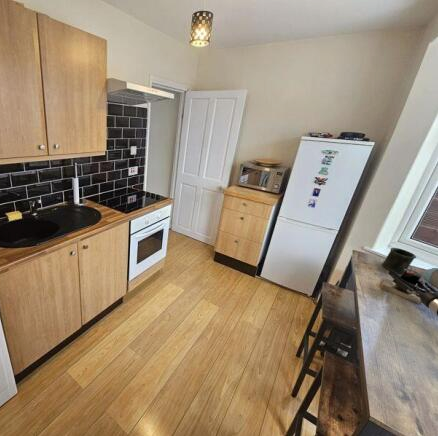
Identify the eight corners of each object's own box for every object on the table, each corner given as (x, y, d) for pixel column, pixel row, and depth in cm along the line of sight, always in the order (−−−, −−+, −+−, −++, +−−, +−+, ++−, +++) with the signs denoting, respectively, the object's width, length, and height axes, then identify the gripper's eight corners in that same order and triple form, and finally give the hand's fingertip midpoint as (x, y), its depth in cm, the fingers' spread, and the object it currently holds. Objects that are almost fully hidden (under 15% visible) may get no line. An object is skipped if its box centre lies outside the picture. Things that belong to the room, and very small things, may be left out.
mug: (380, 268, 140) (391, 251, 135) (380, 259, 150) (390, 244, 145) (405, 277, 134) (417, 260, 129) (404, 267, 143) (414, 251, 139)
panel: (419, 297, 118) (422, 292, 116) (418, 305, 112) (421, 300, 110) (383, 282, 127) (385, 277, 126) (380, 289, 121) (383, 284, 120)
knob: (400, 284, 121) (411, 268, 117) (414, 292, 116) (425, 276, 112) (391, 284, 120) (401, 268, 116) (404, 292, 115) (416, 276, 111)
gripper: (408, 306, 104) (373, 275, 125) (460, 315, 101) (416, 282, 121) (417, 293, 101) (380, 263, 122) (471, 302, 98) (423, 270, 118)
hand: (398, 273), depth 121 cm, fingers open, 7 cm apart
